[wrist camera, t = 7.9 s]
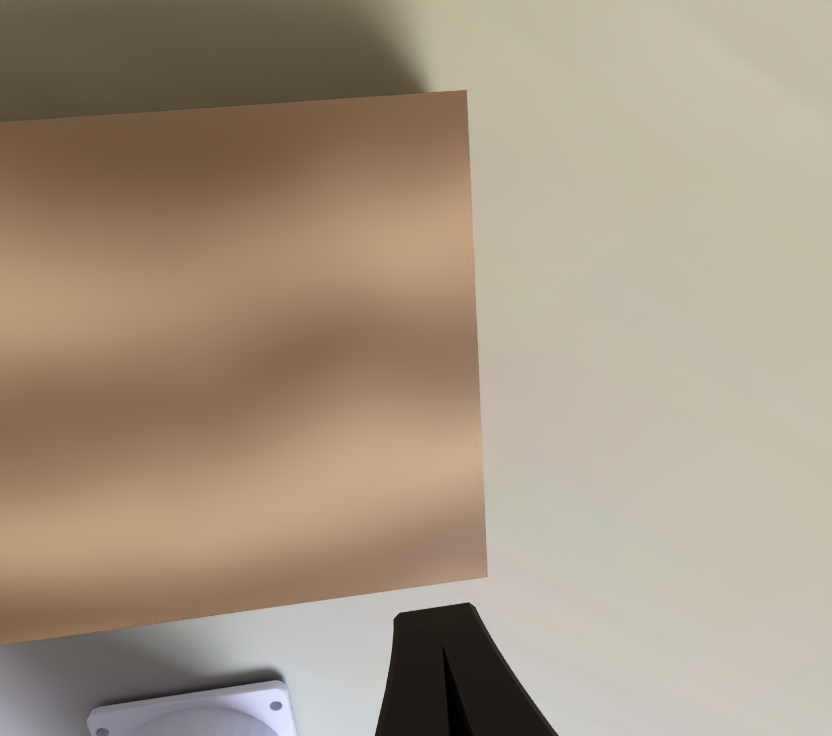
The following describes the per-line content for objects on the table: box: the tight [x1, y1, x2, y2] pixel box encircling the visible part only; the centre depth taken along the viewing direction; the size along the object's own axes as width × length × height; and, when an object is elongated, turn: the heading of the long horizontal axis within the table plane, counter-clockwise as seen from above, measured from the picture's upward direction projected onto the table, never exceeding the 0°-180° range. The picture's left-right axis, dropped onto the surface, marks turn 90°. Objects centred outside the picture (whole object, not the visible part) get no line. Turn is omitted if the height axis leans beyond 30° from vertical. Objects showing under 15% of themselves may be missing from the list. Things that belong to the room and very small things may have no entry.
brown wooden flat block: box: [0, 90, 488, 645], centre depth 16 cm, size 14×16×4 cm
